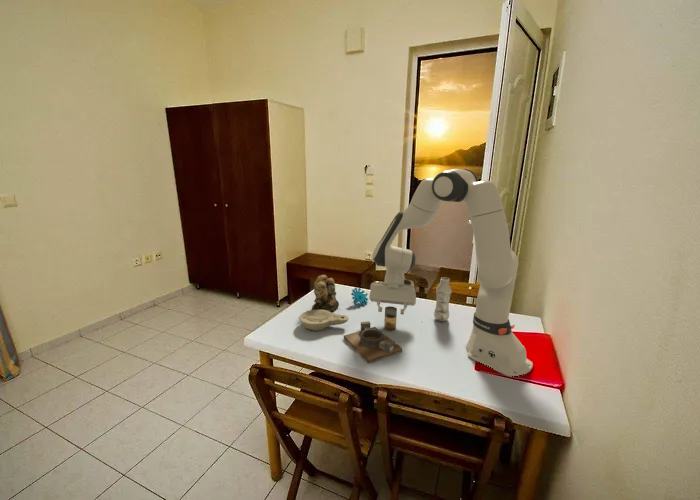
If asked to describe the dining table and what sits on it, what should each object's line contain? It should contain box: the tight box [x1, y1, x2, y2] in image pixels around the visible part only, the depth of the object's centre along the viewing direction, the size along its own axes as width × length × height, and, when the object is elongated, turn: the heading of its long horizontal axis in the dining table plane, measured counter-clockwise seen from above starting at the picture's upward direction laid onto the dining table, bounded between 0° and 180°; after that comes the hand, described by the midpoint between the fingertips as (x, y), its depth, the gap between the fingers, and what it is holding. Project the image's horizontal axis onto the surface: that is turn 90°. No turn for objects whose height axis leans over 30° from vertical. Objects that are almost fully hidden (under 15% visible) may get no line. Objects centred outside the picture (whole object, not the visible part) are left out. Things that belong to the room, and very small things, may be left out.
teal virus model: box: [350, 287, 369, 307], centre depth 155 cm, size 11×6×10 cm
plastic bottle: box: [433, 276, 452, 323], centre depth 136 cm, size 6×7×20 cm
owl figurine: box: [311, 274, 340, 313], centre depth 147 cm, size 18×12×17 cm, turn 160°
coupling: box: [383, 306, 398, 332], centre depth 130 cm, size 5×5×9 cm
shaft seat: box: [343, 321, 403, 364], centre depth 118 cm, size 19×15×5 cm
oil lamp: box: [299, 309, 350, 331], centre depth 131 cm, size 21×14×5 cm
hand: (391, 312), depth 131 cm, fingers open, 8 cm apart
